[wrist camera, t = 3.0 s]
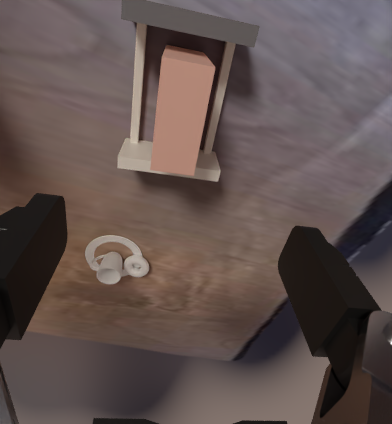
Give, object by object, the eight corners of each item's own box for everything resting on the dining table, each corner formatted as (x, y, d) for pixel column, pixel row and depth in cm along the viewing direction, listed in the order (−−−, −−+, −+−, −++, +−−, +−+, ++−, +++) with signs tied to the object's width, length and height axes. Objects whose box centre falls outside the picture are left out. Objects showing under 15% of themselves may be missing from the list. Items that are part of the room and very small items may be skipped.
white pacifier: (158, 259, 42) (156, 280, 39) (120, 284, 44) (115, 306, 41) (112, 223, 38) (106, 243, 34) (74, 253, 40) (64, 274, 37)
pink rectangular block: (166, 44, 26) (161, 56, 18) (203, 52, 27) (215, 67, 19) (157, 129, 31) (150, 169, 22) (189, 134, 31) (193, 176, 23)
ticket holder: (132, -1, 24) (122, -5, 20) (244, 24, 26) (259, 26, 21) (125, 149, 32) (116, 172, 27) (212, 163, 33) (218, 186, 29)
